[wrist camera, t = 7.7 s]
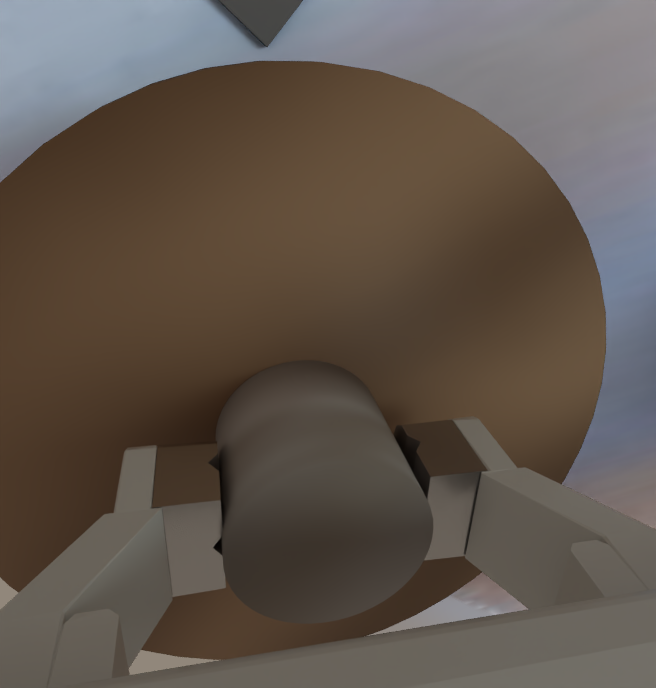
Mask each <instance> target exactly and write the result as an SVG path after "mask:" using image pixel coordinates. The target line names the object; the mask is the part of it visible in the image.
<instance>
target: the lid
mask: <svg viewBox="0 0 656 688" xmlns="http://www.w3.org/2000/svg"><path fill="white" fill-rule="evenodd" d="M605 353H606V312H605V306H604V300H603V293H602V287H601V281H600V275H599V272H598V269H597V266H596V263H595V260H594V257H593V253H592V250H591V247H590V244H589V241H588V238H587V236H586V234H585V232H584V230H583V228H582V226H581V224H580V222H579V220H578V219H577V217H576V215H575V213H574V211H573V209H572V207H571V205H570V203H569V201H568V200H567V199H566V197H565V196H564V195H563V193H562V192H561V190H560V189H559V188H558V186H557V185H556V184H555V182H554V181H553V179H552V178H551V177H550V175H549V174H548V173H547V171H546V170H545V169H544V168H543V167H542V166H541V165H540V164H539V163H538V162H537V161H536V160H535V159H534V158H533V157H532V156H531V155H530V154H529V153H528V152H527V151H526V150H525V149H524V148H523V147H522V146H521V145H520V144H519V143H518V142H517V141H516V140H515V139H514V138H513V137H512V136H510V135H509V134H508V133H506V132H505V131H503V130H502V129H501V128H499V127H498V126H496V125H495V124H494V123H492V122H491V121H489V120H488V119H487V118H485V117H484V116H482V115H481V114H480V113H478V112H477V111H475V110H474V109H472V108H470V107H468V106H466V105H464V104H462V103H460V102H458V101H456V100H454V99H452V98H450V97H448V96H446V95H444V94H442V93H440V92H438V91H436V90H434V89H432V88H430V87H426V86H423V85H420V84H417V83H414V82H411V81H408V80H405V79H401V78H398V77H395V76H392V75H389V74H386V73H383V72H380V71H374V70H368V69H361V68H355V67H349V66H343V65H336V64H330V63H324V62H312V61H254V62H247V63H240V64H232V65H225V66H217V67H210V68H204V69H200V70H197V71H194V72H190V73H187V74H183V75H180V76H176V77H173V78H169V79H166V80H162V81H159V82H155V83H152V84H150V85H148V86H146V87H143V88H141V89H139V90H137V91H135V92H132V93H130V94H128V95H126V96H124V97H121V98H119V99H117V100H115V101H113V102H110V103H108V104H106V105H104V106H102V107H100V108H99V109H97V110H95V111H94V112H92V113H90V114H89V115H87V116H86V117H84V118H83V119H81V120H80V121H78V122H77V123H75V124H74V125H72V126H71V127H69V128H67V129H66V130H64V131H63V132H61V133H60V134H58V135H57V136H55V137H54V138H52V139H51V140H49V141H48V142H46V143H44V144H43V145H42V146H41V147H40V148H38V149H37V150H36V151H35V152H34V153H33V154H32V155H31V156H30V157H28V158H27V159H26V160H25V161H24V162H23V163H22V164H21V165H20V166H18V167H17V168H16V169H15V170H14V171H13V172H12V173H11V174H10V175H8V176H7V177H6V178H5V179H4V180H3V181H2V182H1V183H0V577H1V578H2V579H3V580H4V581H5V582H6V583H7V584H8V585H9V586H10V587H12V588H13V589H15V590H16V591H17V592H20V591H21V590H22V589H23V588H25V587H26V586H27V585H28V584H29V583H30V582H31V581H32V580H33V579H34V578H35V577H37V576H38V575H39V574H40V573H41V572H42V571H43V570H44V569H45V568H46V567H47V566H48V565H50V564H51V563H52V562H53V561H54V560H55V559H56V558H57V557H58V556H59V555H60V554H61V553H63V552H64V551H65V550H66V549H67V548H68V547H69V546H70V545H71V544H72V543H73V542H74V541H76V540H77V539H78V538H79V537H80V536H81V535H82V534H83V533H84V532H85V531H86V530H87V529H89V528H90V527H91V526H92V525H93V524H94V523H95V522H96V521H97V520H98V519H99V518H101V517H102V516H103V515H104V514H109V513H114V507H115V502H116V496H117V490H118V484H119V479H120V473H121V467H122V461H123V456H124V452H125V450H126V449H127V448H130V447H141V446H152V445H156V446H158V445H165V444H179V443H194V442H208V441H217V445H218V460H219V475H220V492H221V508H222V526H223V535H222V536H221V539H222V556H223V568H224V573H225V581H226V588H223V589H217V590H211V591H205V592H199V593H193V594H188V595H182V596H176V597H172V602H171V603H170V605H169V606H168V608H167V610H166V611H165V613H164V614H163V616H162V617H161V619H160V620H159V622H158V624H157V625H156V627H155V628H154V630H153V631H152V633H151V635H150V636H149V638H148V639H147V641H146V642H145V644H144V645H143V647H142V649H141V650H145V651H151V652H156V653H161V654H167V655H172V656H178V657H189V658H201V659H213V660H215V659H216V660H225V659H231V658H238V657H244V656H250V655H256V654H262V653H268V652H274V651H280V650H286V649H292V648H298V647H304V646H310V645H316V644H322V643H329V642H335V641H341V640H347V639H353V638H359V637H364V636H367V635H369V634H373V633H375V632H378V631H381V630H383V629H386V628H388V627H390V626H392V625H394V624H397V623H399V622H401V621H403V620H406V619H408V618H410V617H412V616H414V615H416V614H418V613H420V612H422V611H423V610H425V609H427V608H429V607H431V606H432V605H434V604H436V603H438V602H439V601H441V600H443V599H445V598H446V597H448V596H449V595H451V594H452V593H454V592H455V591H457V590H458V589H460V588H461V587H462V586H464V585H465V584H467V583H468V582H470V581H471V580H473V579H474V578H475V577H476V576H478V575H479V574H480V573H481V572H482V571H481V570H479V569H478V568H477V567H476V566H474V565H473V564H472V563H471V562H469V561H468V560H467V559H466V558H465V556H459V557H450V558H441V559H432V560H424V559H425V557H426V555H427V553H428V550H429V548H430V544H431V541H432V536H433V516H432V511H431V508H430V505H429V503H428V501H427V498H426V496H425V495H424V493H423V491H422V489H421V487H420V485H419V483H418V481H417V479H416V477H415V475H414V474H413V472H412V470H411V468H410V466H409V464H408V462H407V460H406V458H405V456H404V454H403V453H402V451H401V449H400V447H399V445H398V443H397V441H396V439H395V437H394V431H395V428H396V425H403V424H413V423H423V422H433V421H442V420H448V419H454V418H462V417H470V416H474V417H476V418H478V419H479V420H480V421H481V422H482V424H483V425H484V426H485V427H486V429H487V430H488V431H489V432H490V434H491V435H492V436H493V438H494V439H495V440H496V441H497V443H498V444H499V445H500V446H501V448H502V449H503V450H504V451H505V453H506V454H507V455H508V456H509V458H510V459H511V460H512V461H513V463H514V464H515V465H516V467H517V468H524V467H526V468H528V469H530V470H532V471H534V472H536V473H538V474H540V475H543V476H545V477H547V478H549V479H551V480H553V481H555V482H557V483H559V484H562V482H563V481H564V479H565V478H566V476H567V474H568V472H569V470H570V468H571V466H572V464H573V462H574V460H575V459H576V457H577V455H578V453H579V451H580V449H581V447H582V444H583V442H584V439H585V436H586V434H587V431H588V429H589V426H590V424H591V421H592V419H593V415H594V412H595V408H596V404H597V400H598V396H599V392H600V388H601V384H602V377H603V369H604V361H605Z"/></svg>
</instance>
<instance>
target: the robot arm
mask: <svg viewBox="0 0 656 688" xmlns="http://www.w3.org/2000/svg"><path fill="white" fill-rule="evenodd" d="M394 437H395V439H396V441H397V443H398V445H399V447H400V449H401V451H402V453H403V454H404V456H405V458H406V460H407V462H408V464H409V466H410V468H411V470H412V472H413V474H414V475H415V477H416V479H417V481H418V483H419V485H420V487H421V489H422V491H423V493H424V495H425V496H426V498H427V501H428V503H429V505H430V508H431V511H432V516H433V536H432V541H431V544H430V548H429V550H428V553H427V555H426V557H425V559H424V560H432V559H441V558H450V557H459V556H465V558H466V559H467V560H468V561H469V562H471V563H472V564H473V565H474V566H476V567H477V568H478V569H479V570H481V571H482V572H483V573H484V574H486V575H487V576H488V577H489V578H491V579H492V580H493V581H494V582H496V583H497V584H498V585H499V586H501V587H502V588H503V589H504V590H506V591H507V592H508V593H509V594H511V595H512V596H513V597H515V598H516V599H517V600H518V601H520V602H521V603H522V604H523V605H525V606H526V607H527V608H528V609H530V610H523V611H517V612H511V613H505V614H499V615H492V616H486V617H480V618H474V619H468V620H462V621H456V622H450V623H444V624H437V625H432V626H425V627H420V628H413V629H407V630H401V631H396V632H389V633H383V634H377V635H371V636H365V637H359V638H353V639H347V640H341V641H335V642H329V643H322V644H316V645H310V646H304V647H298V648H292V649H286V650H280V651H274V652H268V653H262V654H256V655H250V656H244V657H238V658H231V659H225V660H219V661H213V662H207V663H201V664H196V665H190V666H184V667H177V668H171V669H165V670H158V671H153V672H146V673H140V674H135V675H129V667H130V666H131V664H132V663H133V661H134V659H135V658H136V656H137V655H138V653H139V652H140V650H141V649H142V647H143V645H144V644H145V642H146V641H147V639H148V638H149V636H150V635H151V633H152V631H153V630H154V628H155V627H156V625H157V624H158V622H159V620H160V619H161V617H162V616H163V614H164V613H165V611H166V610H167V608H168V606H169V605H170V603H171V602H172V597H176V596H182V595H188V594H193V593H199V592H205V591H211V590H217V589H223V588H226V581H225V573H224V568H223V556H222V539H221V536H222V535H223V526H222V508H221V492H220V475H219V460H218V445H217V441H208V442H194V443H179V444H165V445H158V446H156V445H152V446H141V447H130V448H127V449H126V450H125V452H124V456H123V461H122V467H121V473H120V479H119V484H118V490H117V496H116V502H115V507H114V513H109V514H104V515H103V516H102V517H101V518H99V519H98V520H97V521H96V522H95V523H94V524H93V525H92V526H91V527H90V528H89V529H87V530H86V531H85V532H84V533H83V534H82V535H81V536H80V537H79V538H78V539H77V540H76V541H74V542H73V543H72V544H71V545H70V546H69V547H68V548H67V549H66V550H65V551H64V552H63V553H61V554H60V555H59V556H58V557H57V558H56V559H55V560H54V561H53V562H52V563H51V564H50V565H48V566H47V567H46V568H45V569H44V570H43V571H42V572H41V573H40V574H39V575H38V576H37V577H35V578H34V579H33V580H32V581H31V582H30V583H29V584H28V585H27V586H26V587H25V588H23V589H22V590H21V591H20V592H19V593H18V594H17V595H16V596H15V597H14V598H13V599H12V600H10V601H9V602H8V603H7V604H6V605H5V606H4V607H3V608H2V609H1V610H0V688H656V529H654V528H651V527H649V526H647V525H645V524H643V523H641V522H639V521H637V520H635V519H633V518H630V517H628V516H626V515H624V514H622V513H620V512H618V511H616V510H614V509H612V508H610V507H607V506H605V505H603V504H601V503H599V502H597V501H595V500H593V499H591V498H589V497H586V496H584V495H582V494H580V493H578V492H576V491H574V490H572V489H570V488H568V487H566V486H563V485H561V484H559V483H557V482H555V481H553V480H551V479H549V478H547V477H545V476H543V475H540V474H538V473H536V472H534V471H532V470H530V469H528V468H526V467H524V468H517V467H516V465H515V464H514V463H513V461H512V460H511V459H510V458H509V456H508V455H507V454H506V453H505V451H504V450H503V449H502V448H501V446H500V445H499V444H498V443H497V441H496V440H495V439H494V438H493V436H492V435H491V434H490V432H489V431H488V430H487V429H486V427H485V426H484V425H483V424H482V422H481V421H480V420H479V419H478V418H476V417H474V416H470V417H462V418H454V419H448V420H442V421H433V422H423V423H413V424H403V425H396V428H395V431H394Z"/></svg>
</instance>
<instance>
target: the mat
mask: <svg viewBox="0 0 656 688" xmlns="http://www.w3.org/2000/svg"><path fill="white" fill-rule="evenodd" d="M219 1H220V2H221V3H222V4H223V5H224V6H225V7H226V8H227V9H228V10H229V11H230V12H231V13H232V14H233V15H234V16H235V17H236V18H237V19H238V20H239V21H240V22H241V23H242V24H243V25H244V26H245V27H246V28H247V29H248V30H249V31H250V32H252V33H253V34H254V35H255V36H256V37H257V38H258V39H259V40H260V41H261V42H262V43H263V44H264V45H265V46H266V47H268V46H269V44H270V43H271V42H272V40H273V39H274V38H275V36H276V35H277V34H278V32H279V31H280V30H281V29H282V27H283V26H284V25H285V23H286V22H287V21H288V19H289V18H290V17H291V15H292V14H293V13H294V11H295V10H296V9H297V8H298V6H299V5H300V4H301V2H302V1H303V0H219Z"/></svg>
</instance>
